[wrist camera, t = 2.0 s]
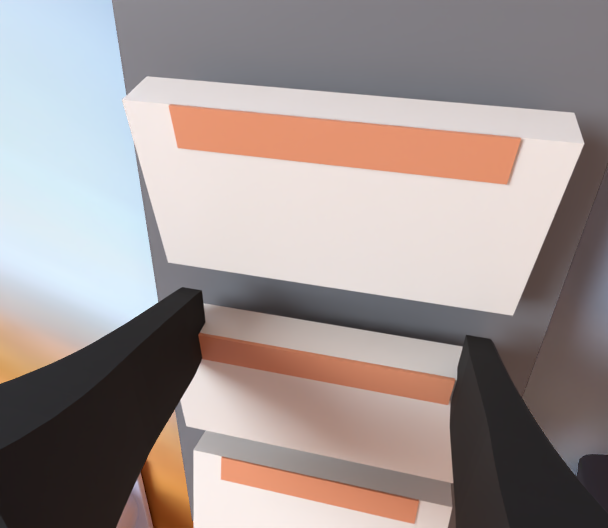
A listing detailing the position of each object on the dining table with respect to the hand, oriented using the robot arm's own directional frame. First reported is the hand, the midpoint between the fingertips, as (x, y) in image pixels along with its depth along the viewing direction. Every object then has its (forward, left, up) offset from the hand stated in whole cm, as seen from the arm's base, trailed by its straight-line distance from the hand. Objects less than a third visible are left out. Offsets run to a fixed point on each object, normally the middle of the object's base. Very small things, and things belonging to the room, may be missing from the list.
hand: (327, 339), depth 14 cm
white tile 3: (+4, 0, 0) cm, 4 cm away
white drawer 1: (-9, 0, 0) cm, 9 cm away
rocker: (-3, 0, 0) cm, 3 cm away
